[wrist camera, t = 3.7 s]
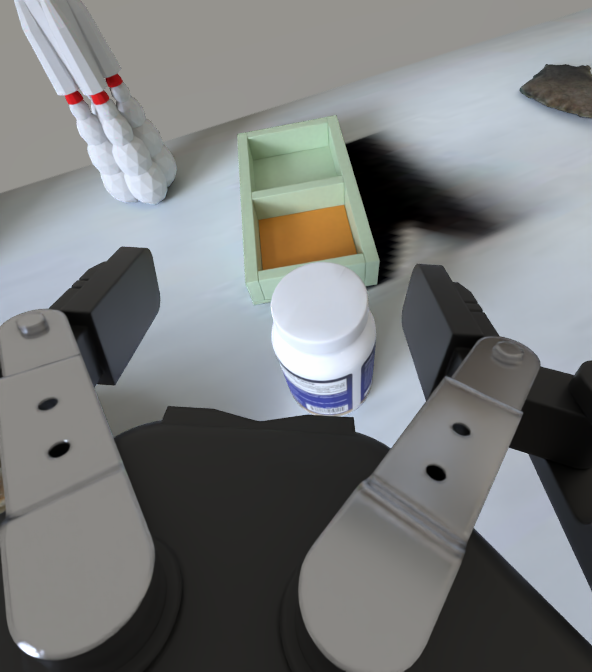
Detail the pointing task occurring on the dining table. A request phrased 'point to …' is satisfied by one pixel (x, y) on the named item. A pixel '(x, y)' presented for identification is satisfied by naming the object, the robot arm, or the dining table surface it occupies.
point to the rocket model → (98, 99)
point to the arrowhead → (562, 88)
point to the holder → (300, 205)
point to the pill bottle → (324, 337)
